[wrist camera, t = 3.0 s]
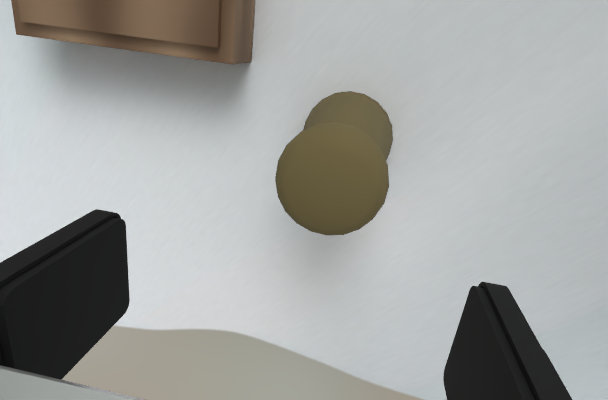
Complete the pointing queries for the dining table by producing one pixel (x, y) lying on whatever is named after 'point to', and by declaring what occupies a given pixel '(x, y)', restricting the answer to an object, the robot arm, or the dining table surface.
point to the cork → (337, 165)
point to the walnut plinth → (146, 25)
